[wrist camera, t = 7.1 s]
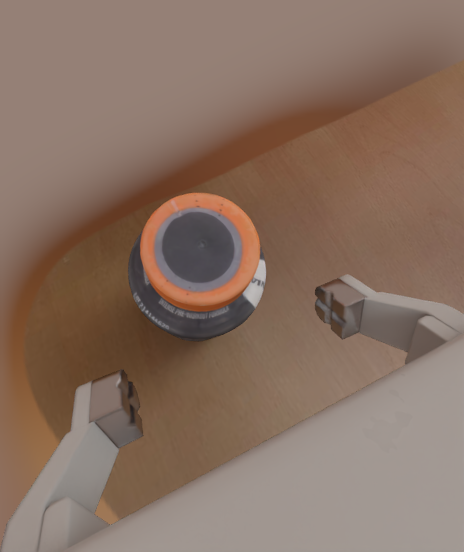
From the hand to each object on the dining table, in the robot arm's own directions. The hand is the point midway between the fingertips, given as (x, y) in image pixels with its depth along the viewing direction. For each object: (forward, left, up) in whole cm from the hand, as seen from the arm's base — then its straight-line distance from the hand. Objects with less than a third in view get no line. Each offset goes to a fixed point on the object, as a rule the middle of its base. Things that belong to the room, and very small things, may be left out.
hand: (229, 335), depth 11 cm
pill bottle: (0, +3, -9) cm, 9 cm away
